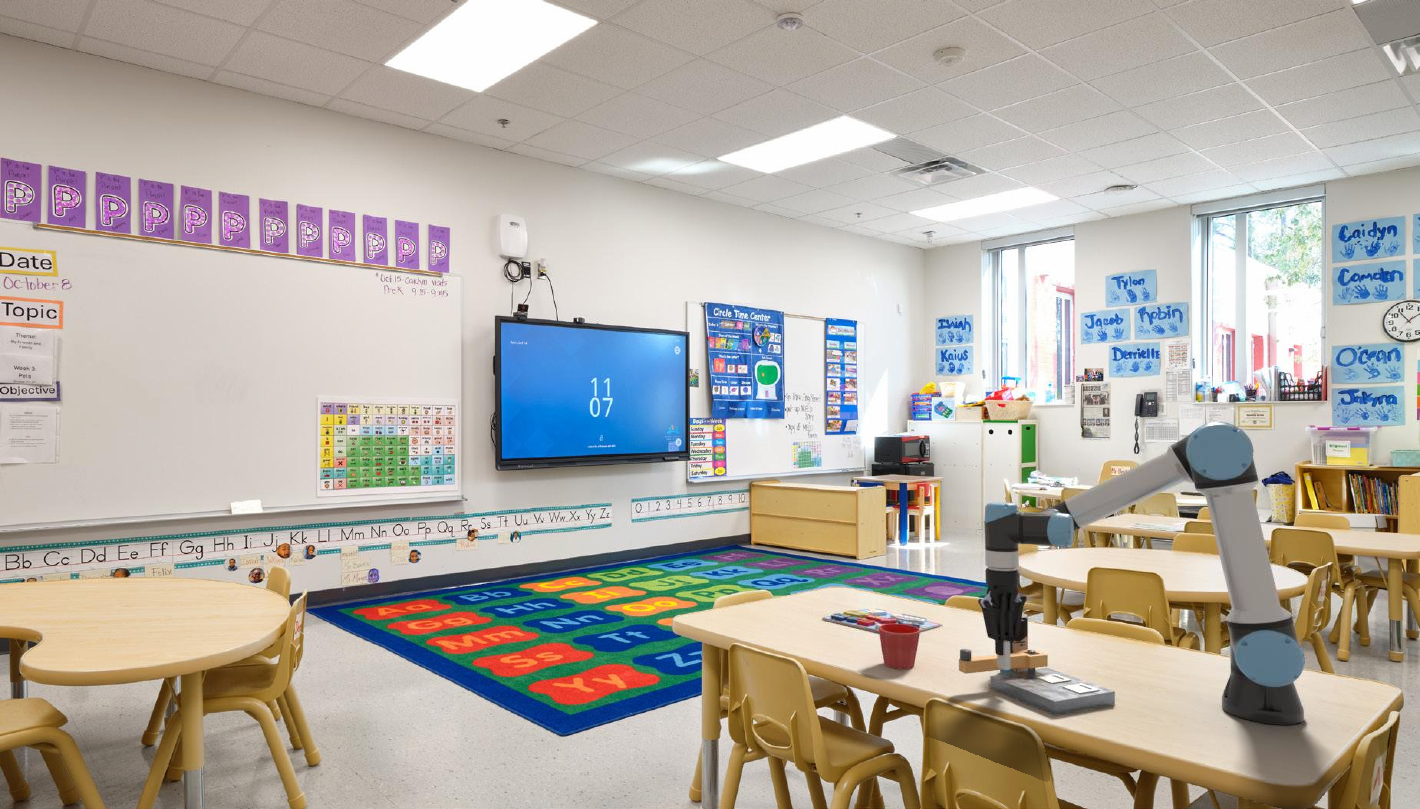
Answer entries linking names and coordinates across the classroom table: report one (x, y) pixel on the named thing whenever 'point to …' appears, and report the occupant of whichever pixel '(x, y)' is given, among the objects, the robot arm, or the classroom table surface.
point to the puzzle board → (878, 620)
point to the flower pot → (899, 645)
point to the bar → (990, 662)
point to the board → (1052, 690)
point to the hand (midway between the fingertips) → (1003, 668)
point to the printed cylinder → (1020, 644)
